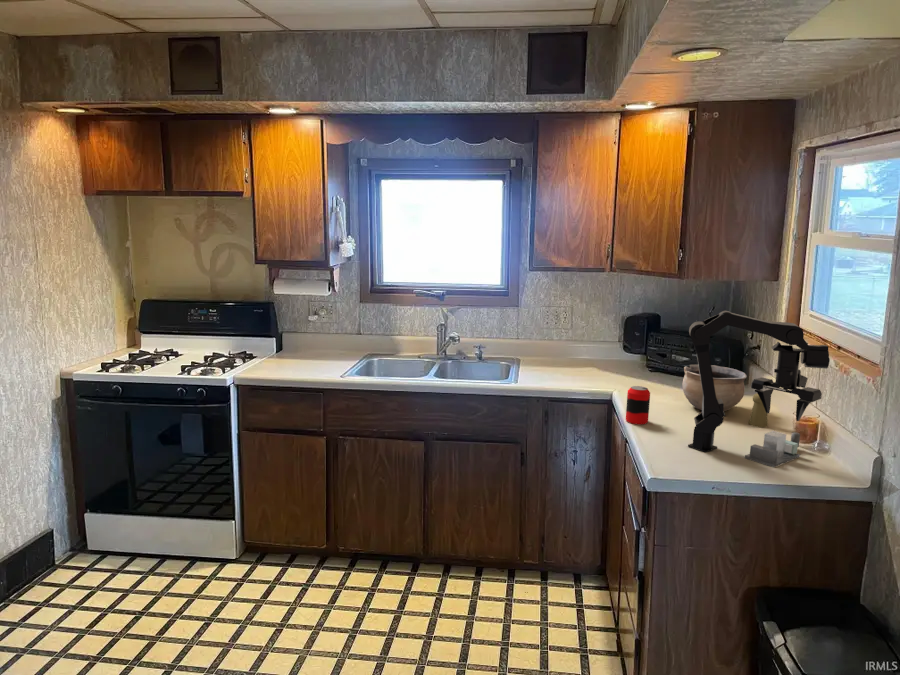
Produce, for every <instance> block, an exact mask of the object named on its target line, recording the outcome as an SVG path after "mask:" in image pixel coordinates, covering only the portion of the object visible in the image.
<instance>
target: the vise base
mask: <svg viewBox="0 0 900 675" xmlns="http://www.w3.org/2000/svg"><path fill="white" fill-rule="evenodd" d="M777 454H778V451H776V450H773V449H769V448H766V447H763V446H762V445H759V444H751V445H750V450H749V453H747V454H745V455H744V459H747V460H749V461H753V462H756V463H759V464H763V465H765V466H768V467H772V468H776V467H778V466H780V465H783V464H786V463H789V462H791V461H794V460H796V459H799V458H800V457H801V454H800V453H795V454H790V453H786V452H784V455H783V456H780V457H778V458H777Z"/></svg>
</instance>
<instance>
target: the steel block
mask: <svg viewBox="0 0 900 675" xmlns="http://www.w3.org/2000/svg"><path fill="white" fill-rule="evenodd" d="M786 440H787V433H783V432H780V431H775V430H771V431H769V432H765V433H764V436H763V443H762V444H763V446H762V447H766V448H769V449H773V450H776V451H778V454H777V458H778V457H780V456H783V455H784V451H785V442H786Z"/></svg>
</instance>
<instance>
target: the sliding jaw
mask: <svg viewBox="0 0 900 675" xmlns="http://www.w3.org/2000/svg"><path fill="white" fill-rule="evenodd" d="M790 435H791V436H790V440H787V439H786V442H785V451H784V452H786V453H790V454H795V453H796V454H798V448H799V447H800V439H801V433H800V432H791V434H790Z"/></svg>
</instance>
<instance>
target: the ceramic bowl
mask: <svg viewBox="0 0 900 675" xmlns="http://www.w3.org/2000/svg"><path fill="white" fill-rule="evenodd" d="M711 367H712V374H713V380H714V387H715V393H716V398H717V400H718V399H722V401H723V404H724V409H723V410H724V412H725V411H729V410H731V409H733V407H735V406H737V405H738V404H739V403H740V402H741V400H742V399H743V398H744V395H745V393H746V392H745V391H746V390H745V381H746V380H747V377H748V376H747V374H746V373H745V372H743V371H741V370H738V369H736V368H735V369H734V368H732V367H731V368H730V367H725V366H719V365H715V364H714V365H712V364H711ZM683 371H684V376H683V380H682V392H683V394H684V396H685V398H686V400H688V402H689V403H690V404H691V406H692V407H694V408H695V409H697V410H700V411H702V401H703V392H702V386H701V379H700V373H699V366H698V364H689V366H684V367H683Z"/></svg>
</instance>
